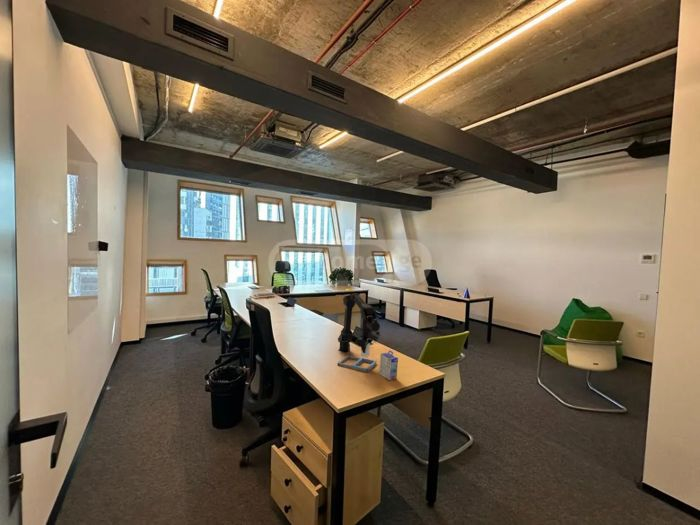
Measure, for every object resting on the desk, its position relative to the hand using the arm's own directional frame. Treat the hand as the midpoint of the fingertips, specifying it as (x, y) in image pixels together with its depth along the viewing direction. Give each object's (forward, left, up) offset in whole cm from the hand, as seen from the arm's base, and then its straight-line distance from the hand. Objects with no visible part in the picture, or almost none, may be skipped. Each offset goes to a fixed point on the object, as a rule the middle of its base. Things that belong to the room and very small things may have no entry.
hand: (365, 351), depth 179 cm
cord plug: (0, 0, -3) cm, 2 cm away
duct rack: (-5, 0, -9) cm, 10 cm away
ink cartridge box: (+17, -6, -9) cm, 20 cm away
